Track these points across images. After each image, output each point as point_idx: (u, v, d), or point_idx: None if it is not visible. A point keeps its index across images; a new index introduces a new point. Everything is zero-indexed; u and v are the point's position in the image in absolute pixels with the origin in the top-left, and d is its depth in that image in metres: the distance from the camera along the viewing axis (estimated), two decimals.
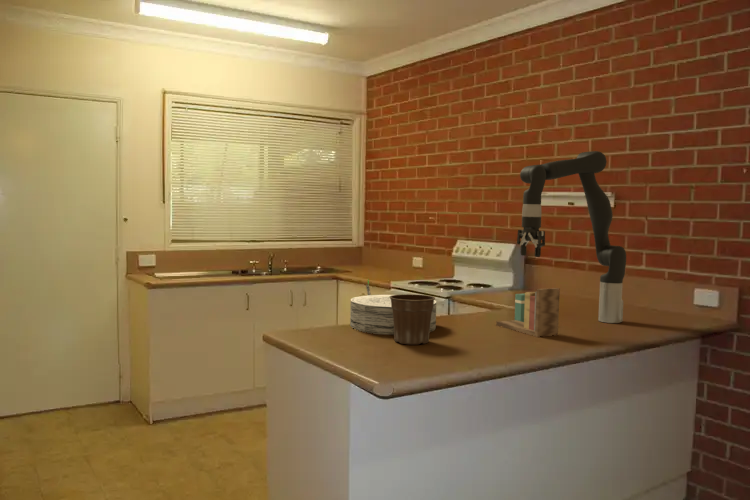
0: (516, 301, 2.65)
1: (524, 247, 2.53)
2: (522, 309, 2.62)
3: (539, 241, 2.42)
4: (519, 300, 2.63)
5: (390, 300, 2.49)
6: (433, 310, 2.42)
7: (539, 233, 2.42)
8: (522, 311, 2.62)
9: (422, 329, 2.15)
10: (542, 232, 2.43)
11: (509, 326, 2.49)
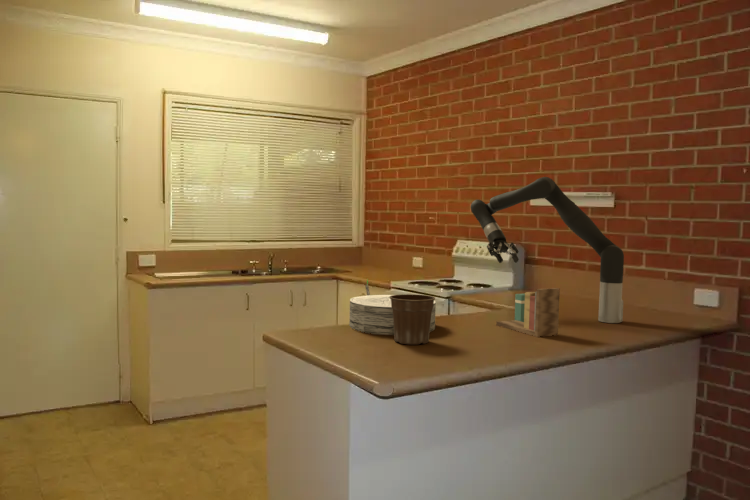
0: (516, 301, 2.65)
1: (513, 255, 2.79)
2: (522, 309, 2.62)
3: None
4: (519, 300, 2.63)
5: (389, 300, 2.49)
6: (432, 310, 2.41)
7: None
8: (522, 311, 2.62)
9: (422, 330, 2.15)
10: (488, 245, 2.78)
11: (509, 326, 2.49)
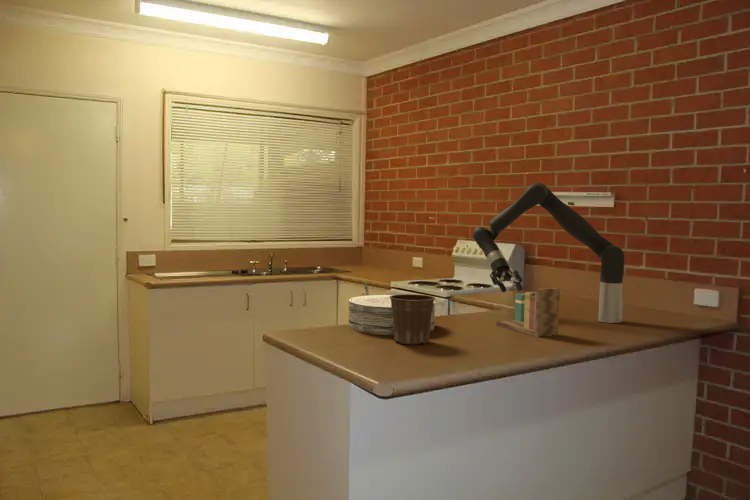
0: (516, 301, 2.65)
1: (517, 284, 2.74)
2: (522, 309, 2.62)
3: None
4: (519, 300, 2.63)
5: (388, 300, 2.48)
6: None
7: None
8: (522, 311, 2.62)
9: (422, 330, 2.15)
10: (491, 273, 2.74)
11: (509, 326, 2.49)
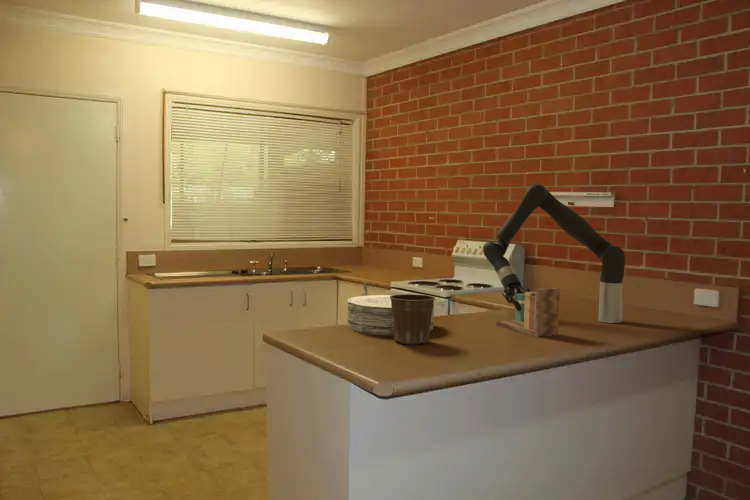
0: None
1: None
2: (522, 308, 2.62)
3: None
4: (519, 300, 2.63)
5: (387, 300, 2.48)
6: None
7: None
8: (522, 311, 2.62)
9: (422, 330, 2.15)
10: (503, 292, 2.66)
11: (509, 326, 2.49)
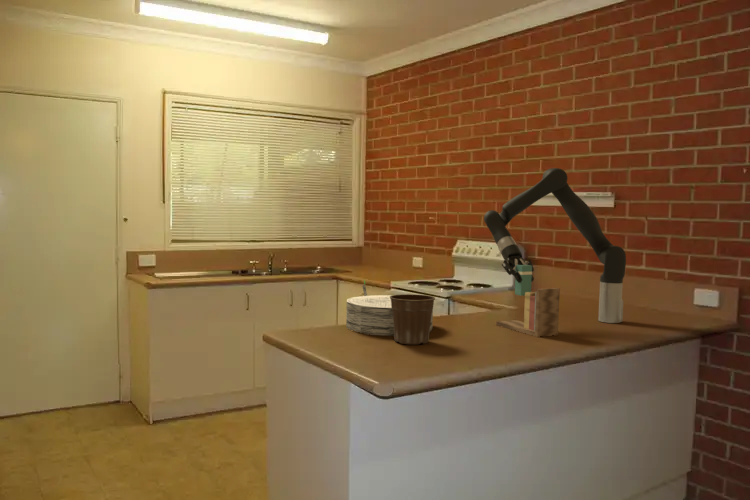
0: None
1: None
2: (522, 280, 2.49)
3: None
4: (520, 271, 2.49)
5: (386, 301, 2.47)
6: None
7: None
8: (523, 283, 2.49)
9: (422, 330, 2.15)
10: (503, 263, 2.53)
11: (509, 326, 2.49)
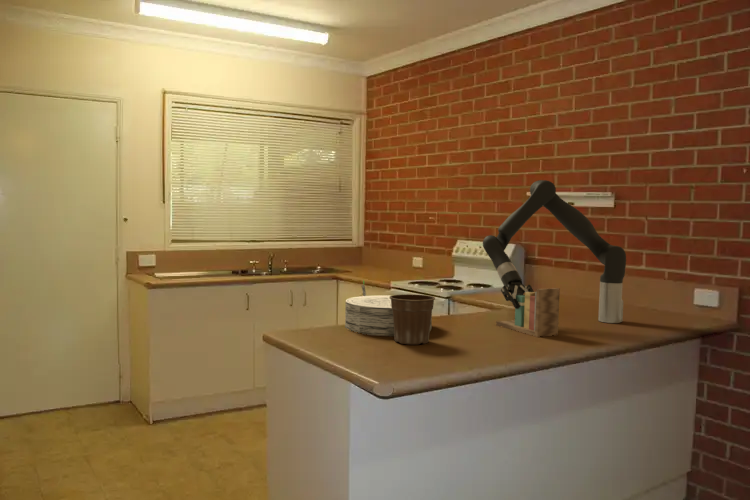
0: None
1: None
2: (523, 311, 2.46)
3: None
4: (519, 302, 2.47)
5: (385, 301, 2.47)
6: None
7: None
8: (523, 314, 2.46)
9: (422, 329, 2.15)
10: (502, 288, 2.50)
11: (509, 326, 2.49)
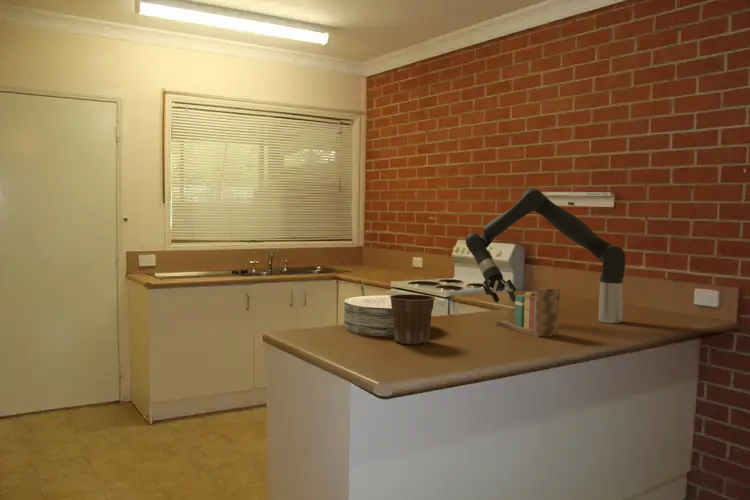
0: (516, 303, 2.49)
1: (510, 294, 2.63)
2: (522, 311, 2.46)
3: None
4: (519, 302, 2.47)
5: (384, 301, 2.46)
6: None
7: None
8: (523, 314, 2.46)
9: (422, 330, 2.15)
10: (483, 283, 2.62)
11: (509, 326, 2.49)
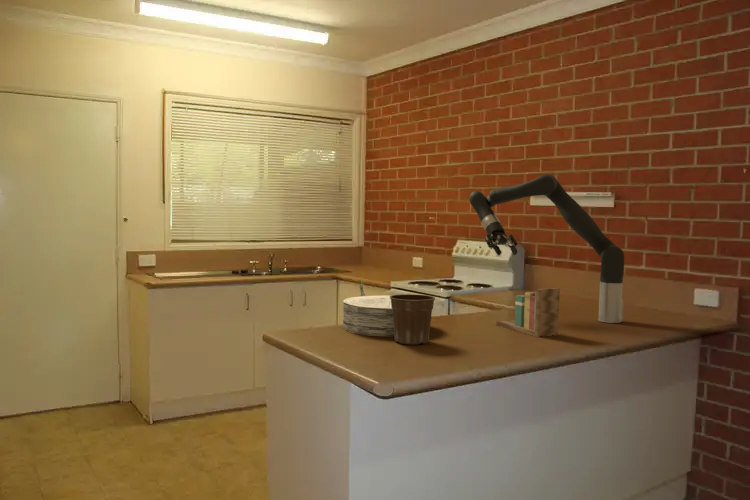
0: (516, 303, 2.49)
1: (512, 248, 2.74)
2: (522, 311, 2.46)
3: None
4: (519, 302, 2.47)
5: (383, 301, 2.46)
6: None
7: None
8: (523, 314, 2.46)
9: (422, 330, 2.15)
10: (486, 237, 2.73)
11: (509, 326, 2.49)
